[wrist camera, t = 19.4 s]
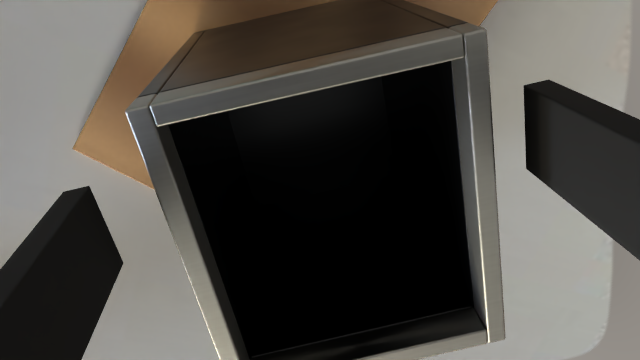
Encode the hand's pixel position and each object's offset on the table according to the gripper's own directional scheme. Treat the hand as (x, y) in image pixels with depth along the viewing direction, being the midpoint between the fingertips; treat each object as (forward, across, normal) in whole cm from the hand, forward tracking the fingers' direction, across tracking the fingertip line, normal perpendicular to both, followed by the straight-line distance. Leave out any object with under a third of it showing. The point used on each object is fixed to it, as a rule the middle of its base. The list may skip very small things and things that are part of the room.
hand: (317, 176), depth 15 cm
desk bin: (+5, 0, -6) cm, 8 cm away
